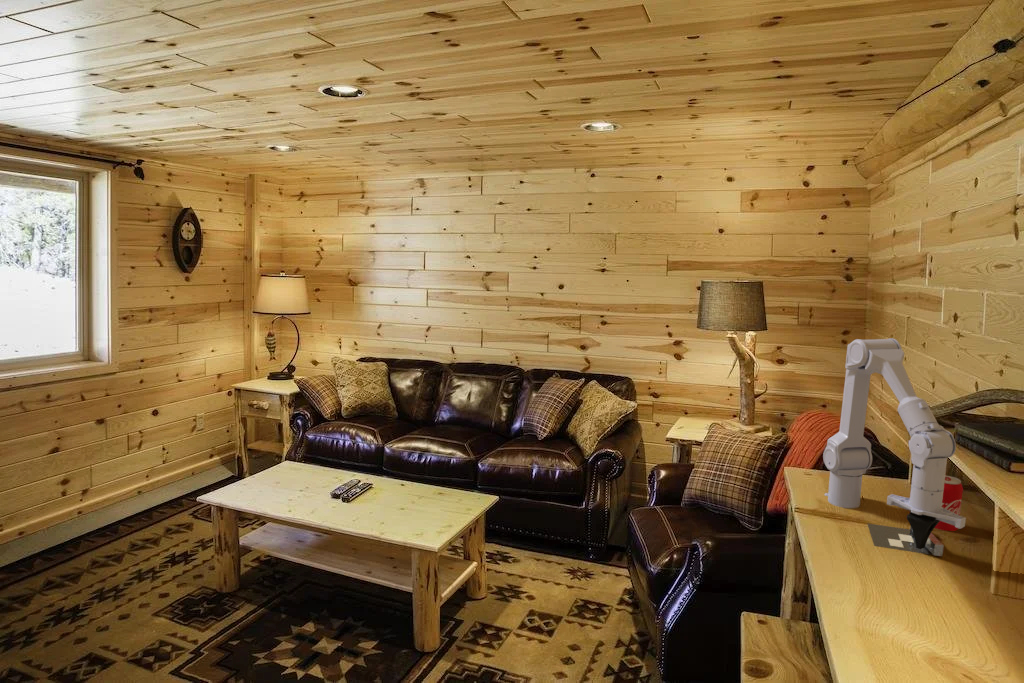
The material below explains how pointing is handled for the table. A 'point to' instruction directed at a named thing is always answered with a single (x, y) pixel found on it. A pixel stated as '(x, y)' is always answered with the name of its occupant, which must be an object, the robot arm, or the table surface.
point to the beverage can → (951, 500)
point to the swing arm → (933, 545)
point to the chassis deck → (884, 533)
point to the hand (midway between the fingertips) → (920, 547)
